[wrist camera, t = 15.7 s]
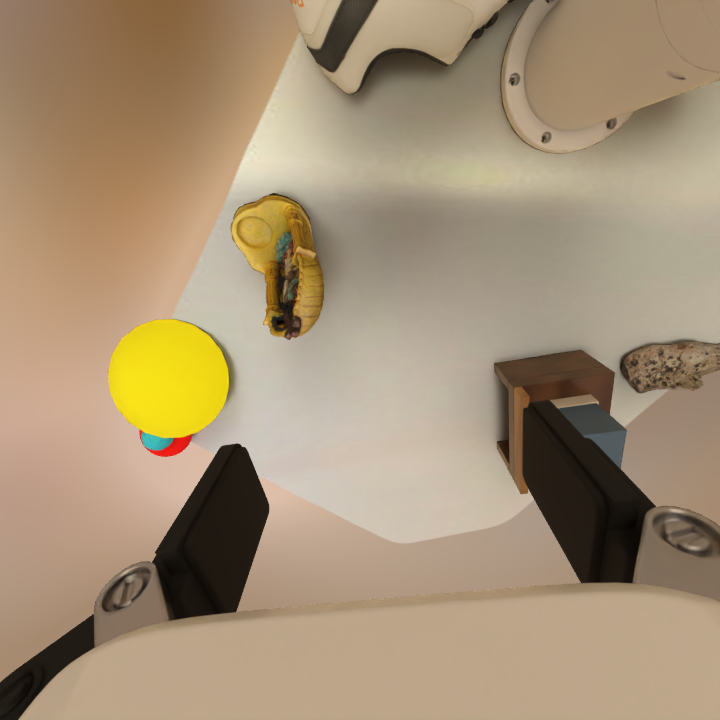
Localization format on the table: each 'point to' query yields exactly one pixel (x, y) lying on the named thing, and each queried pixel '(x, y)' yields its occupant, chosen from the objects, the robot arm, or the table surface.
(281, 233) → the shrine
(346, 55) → the running shoe
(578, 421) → the blue block
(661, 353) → the stone
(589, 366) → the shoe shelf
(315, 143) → the table surface
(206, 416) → the toy
